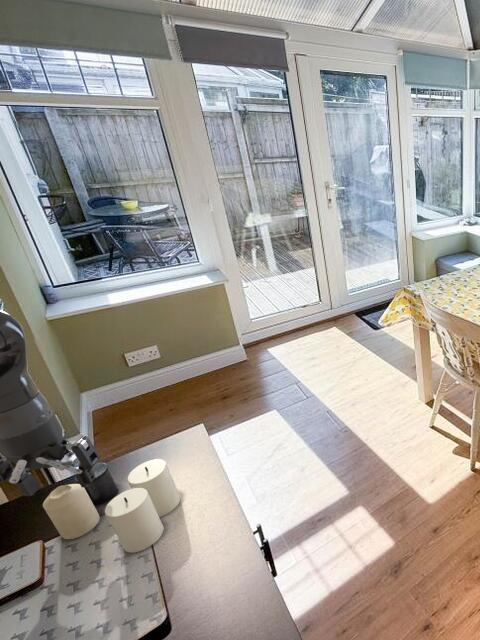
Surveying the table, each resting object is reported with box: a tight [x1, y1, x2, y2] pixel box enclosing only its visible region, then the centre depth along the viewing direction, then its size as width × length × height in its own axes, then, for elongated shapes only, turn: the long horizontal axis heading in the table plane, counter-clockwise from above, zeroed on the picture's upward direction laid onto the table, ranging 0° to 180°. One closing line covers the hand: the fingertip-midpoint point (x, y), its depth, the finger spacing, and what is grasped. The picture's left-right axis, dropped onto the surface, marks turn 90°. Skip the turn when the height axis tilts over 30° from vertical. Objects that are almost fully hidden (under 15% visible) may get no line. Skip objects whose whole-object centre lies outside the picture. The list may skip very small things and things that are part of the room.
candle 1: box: [42, 483, 100, 540], centre depth 79 cm, size 6×6×10 cm
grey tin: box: [74, 462, 119, 506], centre depth 86 cm, size 5×5×7 cm
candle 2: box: [127, 458, 181, 518], centre depth 84 cm, size 6×6×11 cm
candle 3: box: [104, 488, 165, 554], centre depth 77 cm, size 6×6×11 cm
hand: (61, 487), depth 77 cm, fingers open, 8 cm apart
